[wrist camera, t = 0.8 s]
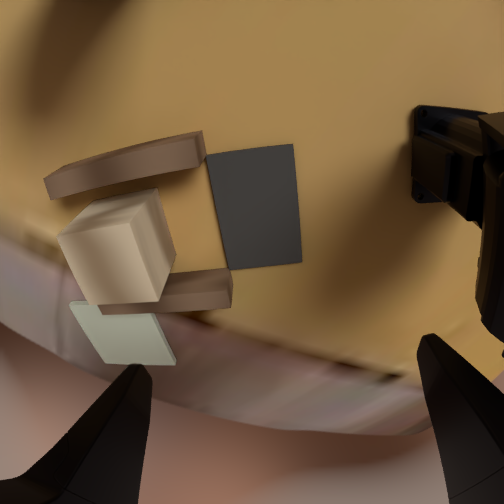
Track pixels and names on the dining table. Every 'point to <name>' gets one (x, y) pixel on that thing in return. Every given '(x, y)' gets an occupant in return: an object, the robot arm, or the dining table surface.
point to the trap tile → (257, 205)
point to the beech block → (120, 248)
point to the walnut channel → (137, 166)
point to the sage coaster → (124, 336)
